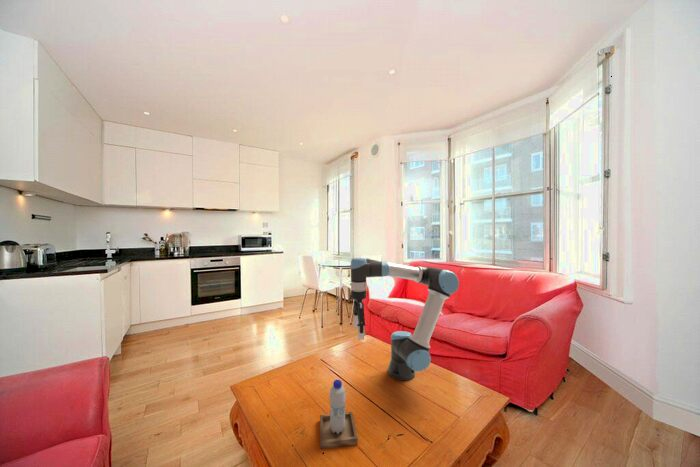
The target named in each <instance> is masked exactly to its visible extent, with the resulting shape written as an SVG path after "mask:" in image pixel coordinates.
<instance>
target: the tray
mask: <svg viewBox="0 0 700 467" xmlns="http://www.w3.org/2000/svg"><path fill="white" fill-rule="evenodd" d="M319 426H320V427H319V432H320V433H319V434H320V436H319V437H320V438H319V440H320V450H323V449H331V448H340V447H348V446H357V445H358V435H357V429H356V424H355V420H354V414H353V411H349V412H348V411H347V412H346V411H345V429H344V431H343V433H341V432H340V433H339V434H337V433H336V432H335V433H333V432H332V430H331V429H330V413H327V414H326V413H325V414H320V415H319Z"/></svg>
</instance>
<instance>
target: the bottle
mask: <svg viewBox="0 0 700 467" xmlns="http://www.w3.org/2000/svg"><path fill="white" fill-rule="evenodd" d="M346 397H347V396H346V388H345V386H344V385H342V381H341V379H335V380H334V381H333V384H332V386H331V387H330V390H329V397H328V398H329V403H330V409H329V411H330V413H329V414H330V429H331V430H332V432H333V433H335V432H336V433H337V434H339V433H340V432H341V433H343V431H344V429H345V413H346V401H347V400H346V399H347V398H346Z"/></svg>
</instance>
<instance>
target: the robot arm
mask: <svg viewBox="0 0 700 467" xmlns="http://www.w3.org/2000/svg"><path fill="white" fill-rule="evenodd" d="M381 277H382V278H383V277H393V278H398V279H405V280H410V281H414V282H415V283H418V284H422V285H424V286H426V287H428V288H427V291H428V295H427V298H426V300H425V303H424V305H423V309H422V310H421V313H420V316H419V319H418V321H417V324H416V327H415V329H414V331H413V334H412V332H409V331H403V330H397V331H394V332H392V333H391V336H390V345H391V346H390V348H391V349H390V351H391V352H390V355H391V357H390V360H389V364H388V368H387V369H388V370H387V372H388V375H389V376H390V377H391V378H392V379H395V380H399V381H411V380H413V379H414V378H415V376H416V372H423V371H425V370H427V368H428V367H429V366H430V364H431V362H432V361H431V360H432V357H431V354H430V353H429V352H430V350H431V345H430V341H431V339H432V338H431V337H432V336H433V333H434V330H435V328H436V324H437V322H438V320H439V317H440V314H441V312H442V309H443V306H444V304H445V301H446V300H448V299H450V297H451V295H453V294H454V293H456V292H457V291H458V289H459V286H460V280H459V278H458V275H457V274H456V273H454V272H453V271H450V270H448V269H443V268H439V267H438V268H437V267H433V266H431V267H430V266H420V265H417V266H416V267H415V266H410V265H405V264H399V263H395V262H394V263H393V262H389V261H383V260H376V259H370V258H363V257H355V258H354V257H353V258H352V259H351V260H350V283H349V286H350V298H351V299H352V300H353V306H352V312H353V329H357V330H358V331H357V340H359V341H362V340H365V326H366V319H365V318H366V317H365V304H364V302H363V300H365V299H367V278H381Z"/></svg>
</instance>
